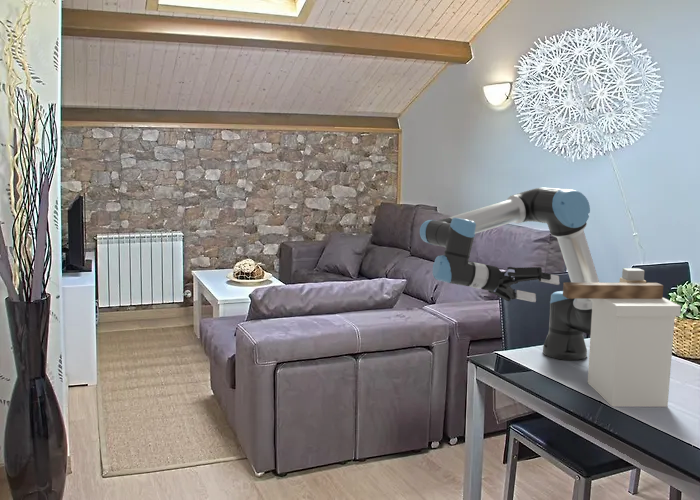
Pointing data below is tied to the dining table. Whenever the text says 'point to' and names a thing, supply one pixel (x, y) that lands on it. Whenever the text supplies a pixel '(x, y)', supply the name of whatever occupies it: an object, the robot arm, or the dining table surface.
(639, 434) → the dining table surface
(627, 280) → the birch offcut
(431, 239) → the robot arm
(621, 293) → the walnut block
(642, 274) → the grey offcut
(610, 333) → the cream stand
